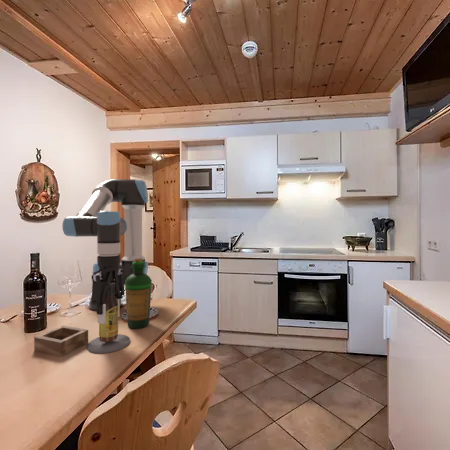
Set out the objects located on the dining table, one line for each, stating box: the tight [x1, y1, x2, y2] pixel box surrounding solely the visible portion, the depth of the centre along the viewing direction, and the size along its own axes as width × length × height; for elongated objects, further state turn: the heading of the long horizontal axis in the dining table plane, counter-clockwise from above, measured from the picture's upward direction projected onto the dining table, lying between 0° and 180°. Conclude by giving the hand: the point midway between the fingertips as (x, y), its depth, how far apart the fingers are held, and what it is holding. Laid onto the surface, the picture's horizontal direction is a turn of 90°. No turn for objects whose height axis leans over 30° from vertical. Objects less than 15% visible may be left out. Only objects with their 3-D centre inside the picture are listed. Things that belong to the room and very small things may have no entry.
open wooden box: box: [33, 325, 89, 357], centre depth 96 cm, size 11×12×4 cm
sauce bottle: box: [98, 282, 119, 342], centre depth 98 cm, size 7×6×20 cm
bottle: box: [124, 258, 153, 330], centre depth 115 cm, size 11×11×28 cm
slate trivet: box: [86, 333, 131, 354], centre depth 98 cm, size 14×14×1 cm
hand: (109, 319), depth 98 cm, fingers closed on sauce bottle, 6 cm apart
